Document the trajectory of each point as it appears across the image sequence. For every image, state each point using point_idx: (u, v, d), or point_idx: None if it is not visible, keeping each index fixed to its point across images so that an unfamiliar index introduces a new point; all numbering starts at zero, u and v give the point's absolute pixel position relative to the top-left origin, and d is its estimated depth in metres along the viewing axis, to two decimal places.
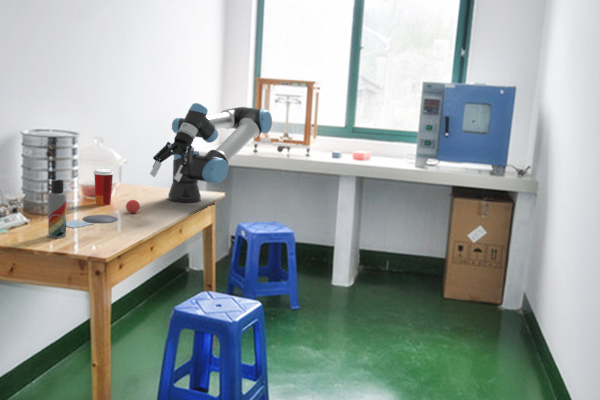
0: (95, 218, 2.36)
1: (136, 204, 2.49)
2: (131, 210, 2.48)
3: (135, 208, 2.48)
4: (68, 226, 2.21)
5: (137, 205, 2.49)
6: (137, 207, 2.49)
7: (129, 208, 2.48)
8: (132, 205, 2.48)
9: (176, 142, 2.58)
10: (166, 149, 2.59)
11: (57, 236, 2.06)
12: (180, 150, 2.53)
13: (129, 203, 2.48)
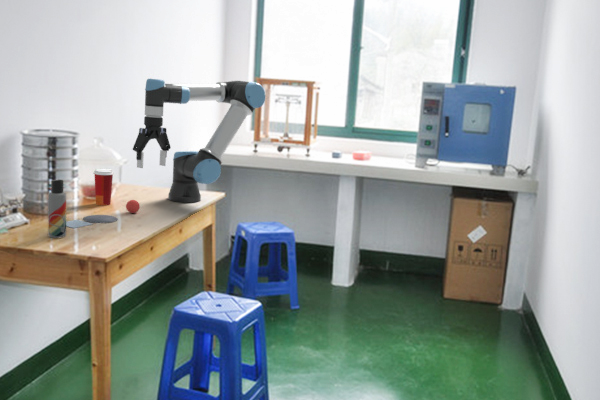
0: (95, 218, 2.36)
1: (136, 204, 2.49)
2: (131, 210, 2.48)
3: (135, 208, 2.48)
4: (68, 226, 2.21)
5: (137, 205, 2.49)
6: (137, 207, 2.49)
7: (129, 208, 2.48)
8: (132, 205, 2.48)
9: None
10: (162, 135, 2.58)
11: (57, 236, 2.06)
12: None
13: (129, 203, 2.48)
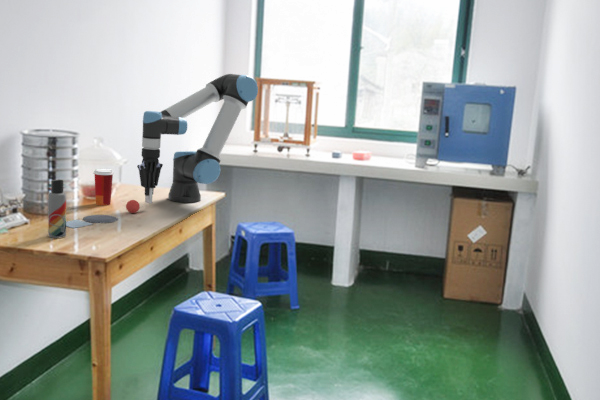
0: (95, 218, 2.36)
1: (136, 204, 2.49)
2: (131, 210, 2.48)
3: (135, 208, 2.48)
4: (68, 226, 2.21)
5: (137, 205, 2.49)
6: (137, 207, 2.49)
7: (129, 208, 2.48)
8: (132, 205, 2.48)
9: None
10: (156, 169, 2.59)
11: (57, 236, 2.06)
12: None
13: (129, 203, 2.48)
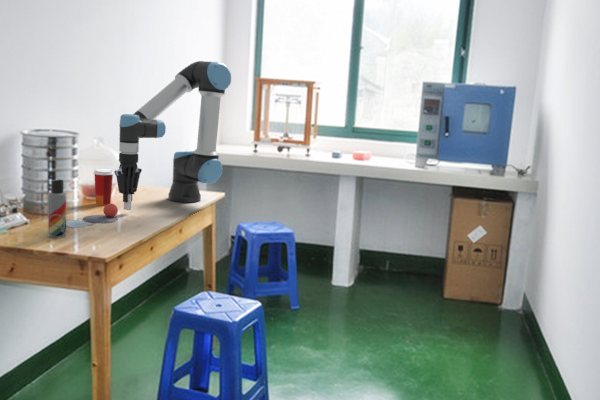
0: (95, 218, 2.36)
1: (117, 212, 2.40)
2: (113, 205, 2.39)
3: (115, 209, 2.39)
4: (68, 226, 2.21)
5: (116, 212, 2.40)
6: (115, 211, 2.39)
7: None
8: None
9: None
10: (135, 175, 2.49)
11: (57, 236, 2.06)
12: None
13: None
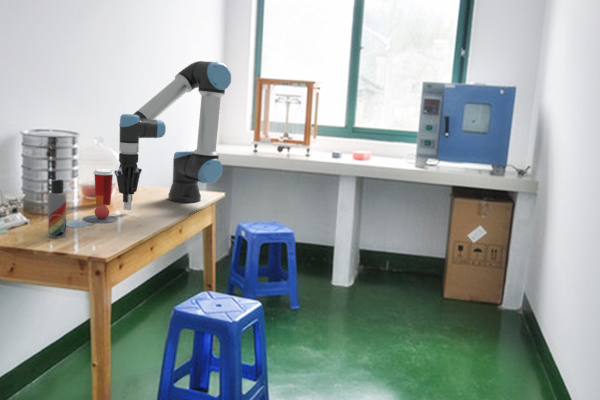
0: (95, 218, 2.36)
1: (107, 210, 2.35)
2: (99, 213, 2.34)
3: (104, 213, 2.34)
4: (68, 226, 2.21)
5: (107, 211, 2.36)
6: (106, 213, 2.35)
7: (98, 210, 2.34)
8: (102, 208, 2.34)
9: None
10: (135, 175, 2.49)
11: (57, 236, 2.06)
12: None
13: (100, 206, 2.35)
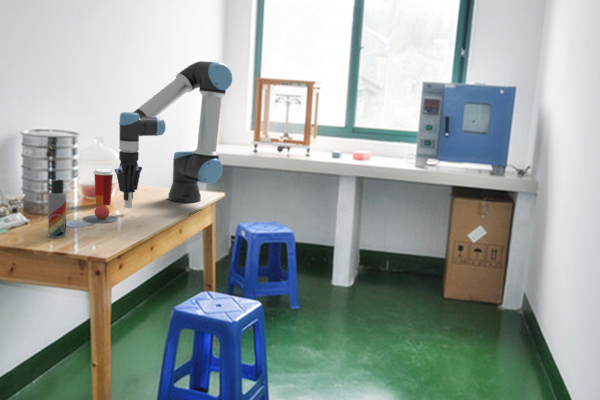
0: (95, 218, 2.36)
1: (107, 210, 2.35)
2: (99, 213, 2.34)
3: (104, 213, 2.34)
4: (68, 226, 2.21)
5: (107, 211, 2.36)
6: (106, 213, 2.35)
7: (98, 210, 2.34)
8: (102, 208, 2.34)
9: None
10: (135, 173, 2.49)
11: (57, 236, 2.06)
12: None
13: (100, 206, 2.35)
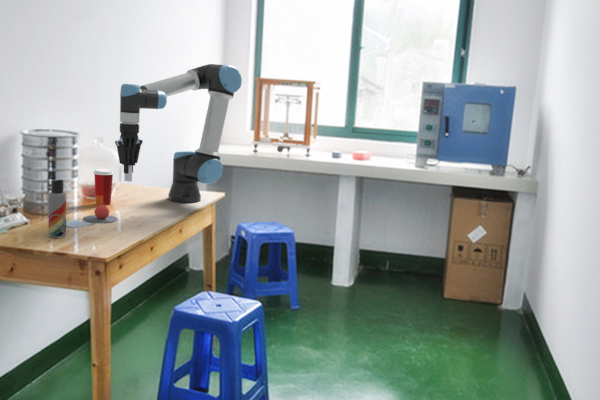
0: (95, 218, 2.36)
1: (107, 210, 2.35)
2: (99, 213, 2.34)
3: (104, 213, 2.34)
4: (68, 226, 2.21)
5: (107, 211, 2.36)
6: (106, 213, 2.35)
7: (98, 210, 2.34)
8: (102, 208, 2.34)
9: None
10: (135, 146, 2.46)
11: (57, 236, 2.06)
12: None
13: (100, 206, 2.35)
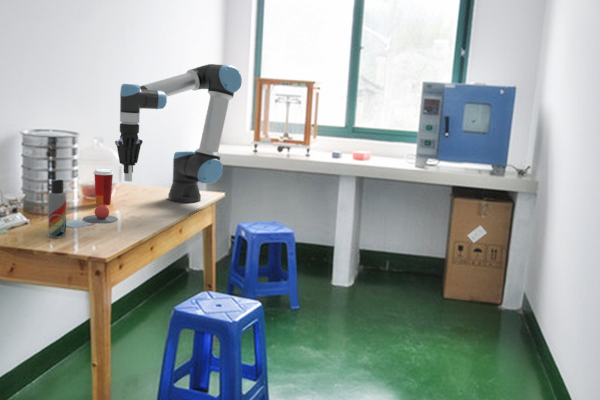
0: (95, 218, 2.36)
1: (107, 210, 2.35)
2: (99, 213, 2.34)
3: (104, 213, 2.34)
4: (68, 226, 2.21)
5: (107, 211, 2.36)
6: (106, 213, 2.35)
7: (98, 210, 2.34)
8: (102, 208, 2.34)
9: None
10: (135, 146, 2.46)
11: (57, 236, 2.06)
12: None
13: (100, 206, 2.35)
